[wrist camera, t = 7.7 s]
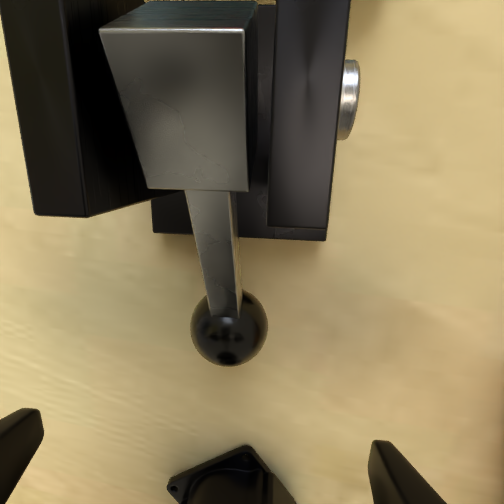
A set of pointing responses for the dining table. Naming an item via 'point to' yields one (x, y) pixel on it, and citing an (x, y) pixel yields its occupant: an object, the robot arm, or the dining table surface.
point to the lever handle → (197, 142)
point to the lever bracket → (118, 137)
